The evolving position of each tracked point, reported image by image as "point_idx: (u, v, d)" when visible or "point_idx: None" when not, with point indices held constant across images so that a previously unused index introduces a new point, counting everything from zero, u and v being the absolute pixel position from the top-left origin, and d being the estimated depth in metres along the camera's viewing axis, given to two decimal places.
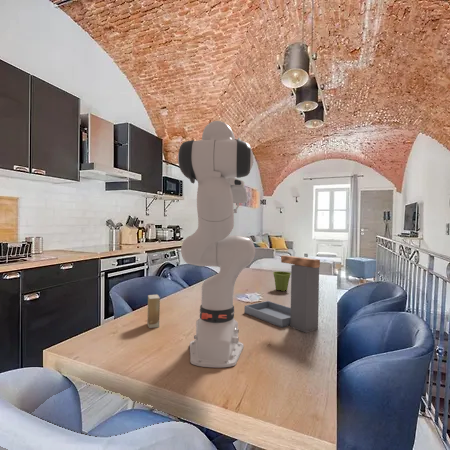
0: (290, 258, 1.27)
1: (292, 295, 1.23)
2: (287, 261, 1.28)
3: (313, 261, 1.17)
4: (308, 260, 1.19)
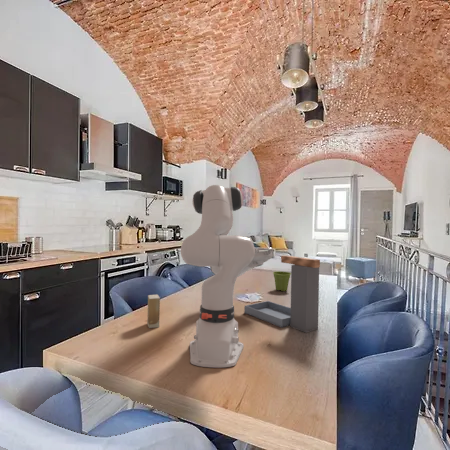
0: (290, 258, 1.27)
1: (292, 295, 1.23)
2: (287, 261, 1.28)
3: (313, 261, 1.17)
4: (308, 260, 1.19)
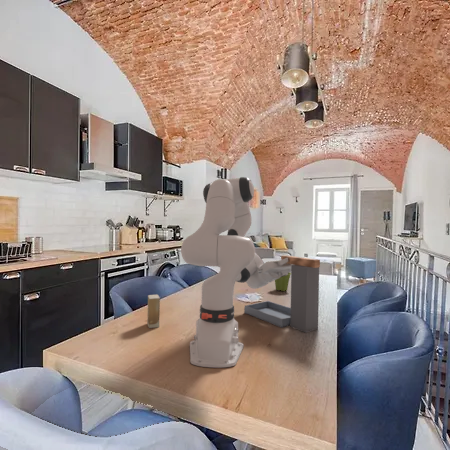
0: (290, 258, 1.27)
1: (292, 295, 1.23)
2: None
3: (313, 261, 1.17)
4: (308, 260, 1.19)
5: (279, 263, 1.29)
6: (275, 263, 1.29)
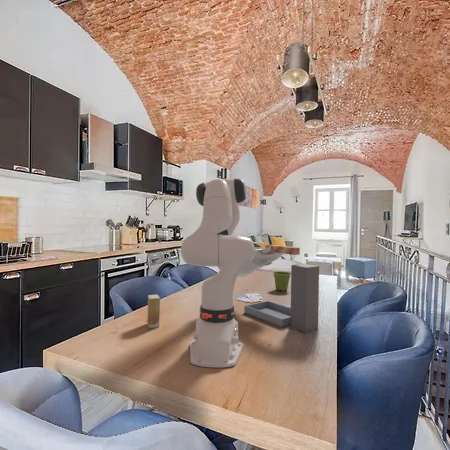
0: (273, 247, 1.35)
1: (292, 295, 1.23)
2: None
3: (293, 249, 1.26)
4: (289, 248, 1.28)
5: (263, 251, 1.37)
6: (259, 252, 1.37)
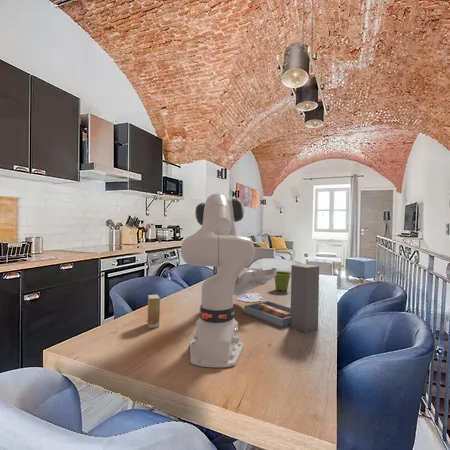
0: (265, 308, 1.39)
1: (292, 295, 1.23)
2: (263, 310, 1.40)
3: (284, 315, 1.29)
4: (280, 313, 1.31)
5: (253, 273, 1.38)
6: None
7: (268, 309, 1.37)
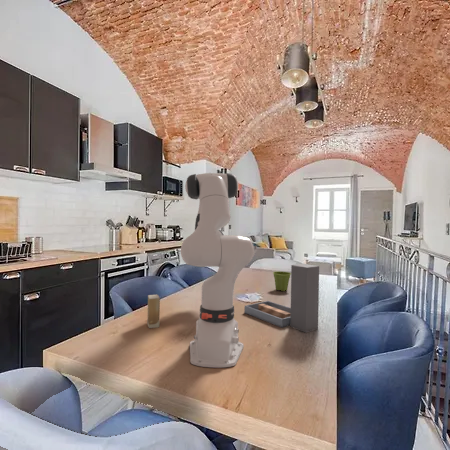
0: (265, 308, 1.39)
1: (292, 295, 1.23)
2: (263, 310, 1.40)
3: (284, 315, 1.29)
4: (280, 313, 1.31)
5: None
6: None
7: (268, 309, 1.37)
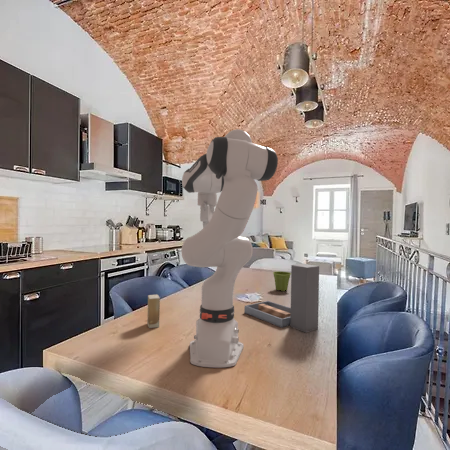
0: (265, 308, 1.39)
1: (292, 295, 1.23)
2: (263, 310, 1.40)
3: (284, 315, 1.29)
4: (280, 313, 1.31)
5: (204, 222, 1.29)
6: None
7: (268, 309, 1.37)
